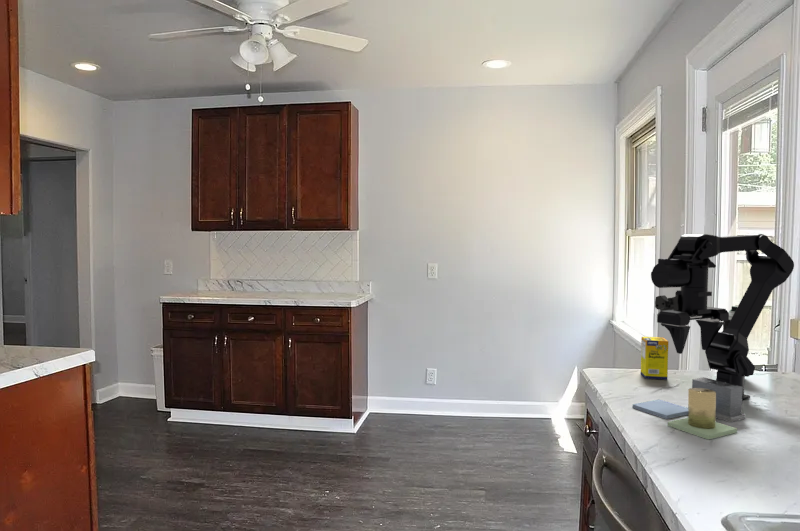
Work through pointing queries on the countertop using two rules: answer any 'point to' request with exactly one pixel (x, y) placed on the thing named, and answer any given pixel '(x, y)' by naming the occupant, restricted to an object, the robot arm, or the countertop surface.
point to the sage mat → (703, 429)
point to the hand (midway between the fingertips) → (692, 351)
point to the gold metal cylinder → (702, 408)
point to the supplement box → (654, 358)
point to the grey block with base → (724, 398)
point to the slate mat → (662, 408)
